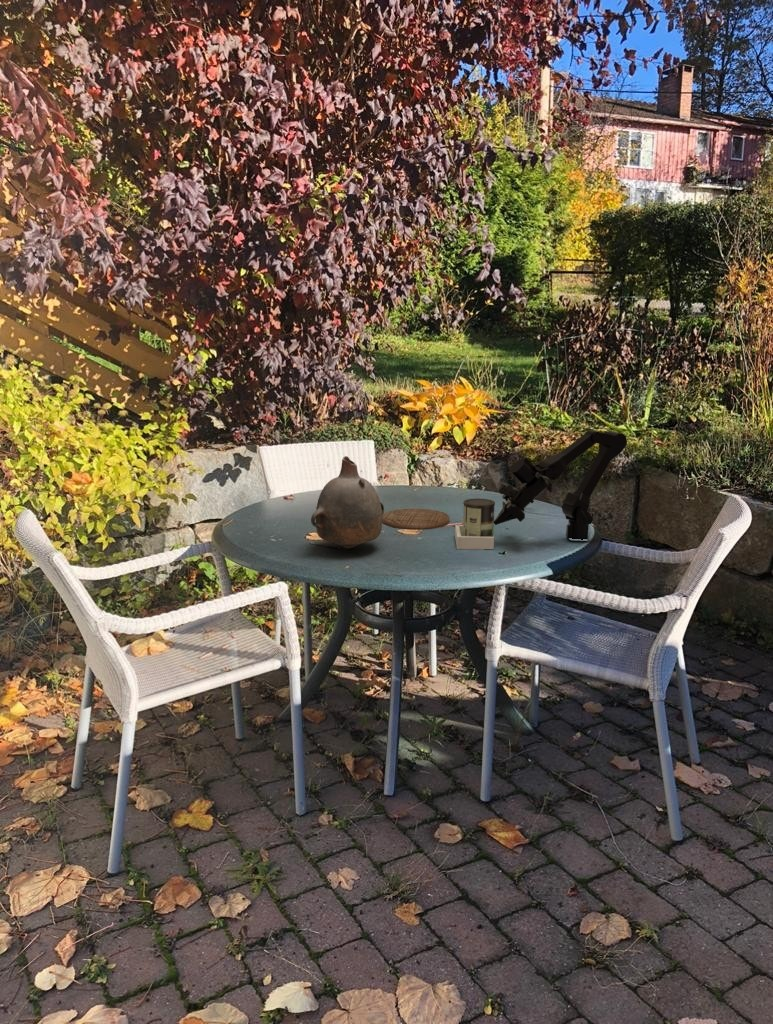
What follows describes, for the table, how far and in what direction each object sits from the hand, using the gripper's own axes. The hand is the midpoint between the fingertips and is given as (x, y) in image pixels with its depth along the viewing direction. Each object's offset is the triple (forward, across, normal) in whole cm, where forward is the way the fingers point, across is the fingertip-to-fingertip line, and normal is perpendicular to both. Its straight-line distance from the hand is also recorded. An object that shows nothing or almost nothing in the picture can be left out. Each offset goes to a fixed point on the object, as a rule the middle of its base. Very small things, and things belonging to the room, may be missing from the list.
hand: (494, 523), depth 262 cm
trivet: (+24, -28, -13) cm, 39 cm away
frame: (+9, 0, 0) cm, 9 cm away
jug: (+38, +9, -28) cm, 49 cm away
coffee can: (+9, 0, +1) cm, 9 cm away
